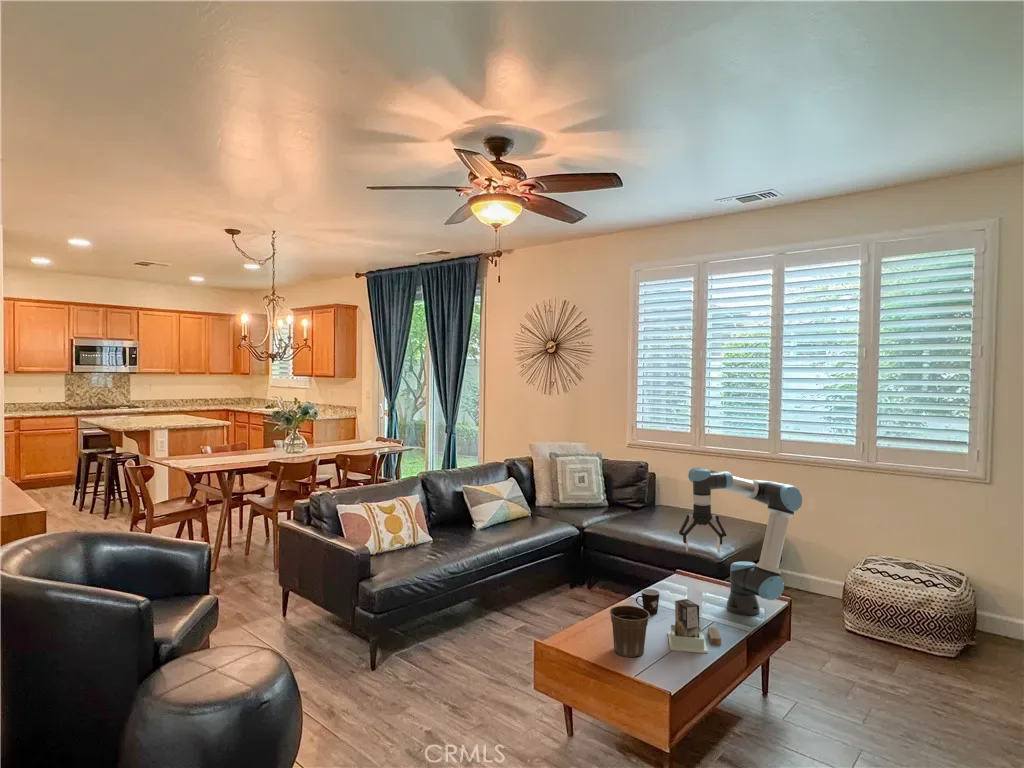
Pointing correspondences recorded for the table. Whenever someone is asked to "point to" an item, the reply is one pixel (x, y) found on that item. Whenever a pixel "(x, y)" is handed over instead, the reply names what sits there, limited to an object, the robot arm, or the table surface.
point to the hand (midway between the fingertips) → (702, 551)
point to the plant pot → (629, 630)
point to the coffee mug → (650, 600)
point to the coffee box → (686, 619)
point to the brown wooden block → (714, 636)
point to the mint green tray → (686, 642)
